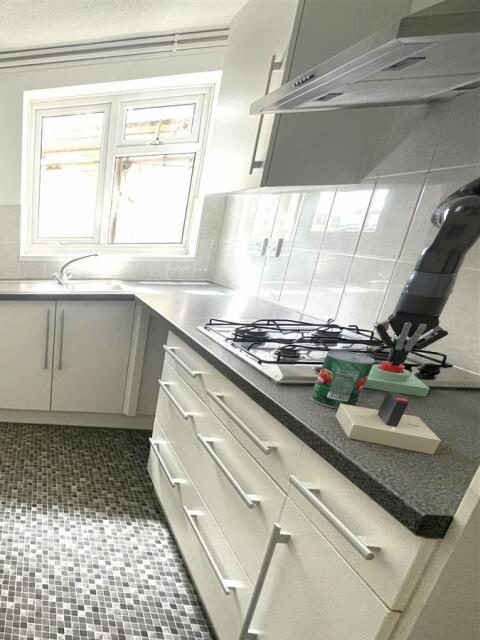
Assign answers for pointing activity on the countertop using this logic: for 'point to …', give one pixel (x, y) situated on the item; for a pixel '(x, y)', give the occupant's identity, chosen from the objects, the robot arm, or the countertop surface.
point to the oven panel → (386, 429)
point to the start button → (392, 367)
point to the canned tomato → (341, 378)
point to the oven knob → (392, 408)
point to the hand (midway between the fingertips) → (393, 364)
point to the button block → (395, 382)
